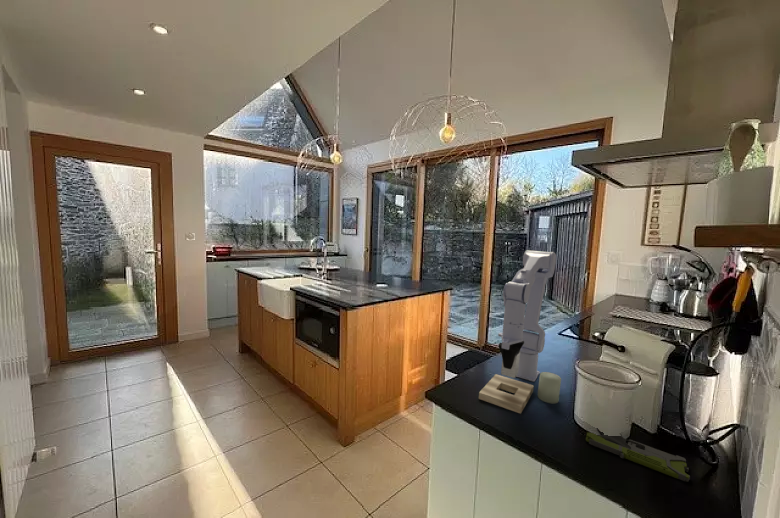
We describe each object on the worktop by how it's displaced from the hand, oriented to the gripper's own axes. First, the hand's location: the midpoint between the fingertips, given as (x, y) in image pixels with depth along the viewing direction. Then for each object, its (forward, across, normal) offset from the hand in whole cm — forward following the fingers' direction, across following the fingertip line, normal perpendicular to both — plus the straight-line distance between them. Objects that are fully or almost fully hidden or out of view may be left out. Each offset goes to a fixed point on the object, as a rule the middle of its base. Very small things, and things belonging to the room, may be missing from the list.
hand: (509, 365), depth 99 cm
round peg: (+9, -6, +10) cm, 16 cm away
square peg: (+3, 0, 0) cm, 3 cm away
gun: (+10, +5, +31) cm, 33 cm away
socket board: (+9, 0, 0) cm, 9 cm away
